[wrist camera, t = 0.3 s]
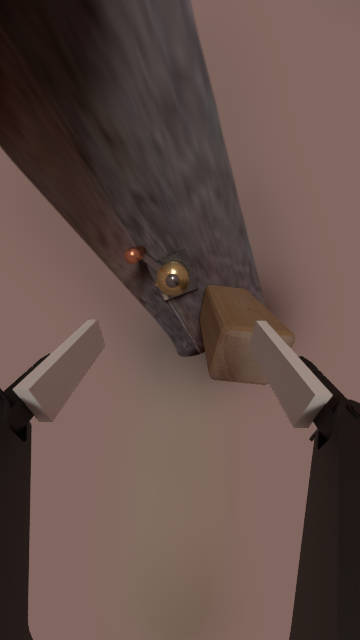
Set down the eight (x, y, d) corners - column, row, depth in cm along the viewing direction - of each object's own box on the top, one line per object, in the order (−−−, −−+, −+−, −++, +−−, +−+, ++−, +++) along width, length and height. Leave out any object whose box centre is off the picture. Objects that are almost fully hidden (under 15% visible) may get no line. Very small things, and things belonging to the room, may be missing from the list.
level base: (147, 264, 35) (145, 266, 33) (184, 248, 33) (185, 249, 31) (164, 299, 39) (162, 303, 37) (198, 287, 37) (199, 290, 35)
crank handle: (127, 262, 34) (115, 268, 28) (145, 233, 31) (135, 233, 25) (176, 298, 38) (174, 310, 31) (195, 275, 35) (197, 284, 29)
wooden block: (247, 288, 37) (302, 336, 20) (235, 323, 42) (270, 388, 25) (205, 283, 37) (224, 328, 20) (198, 319, 42) (208, 382, 24)
